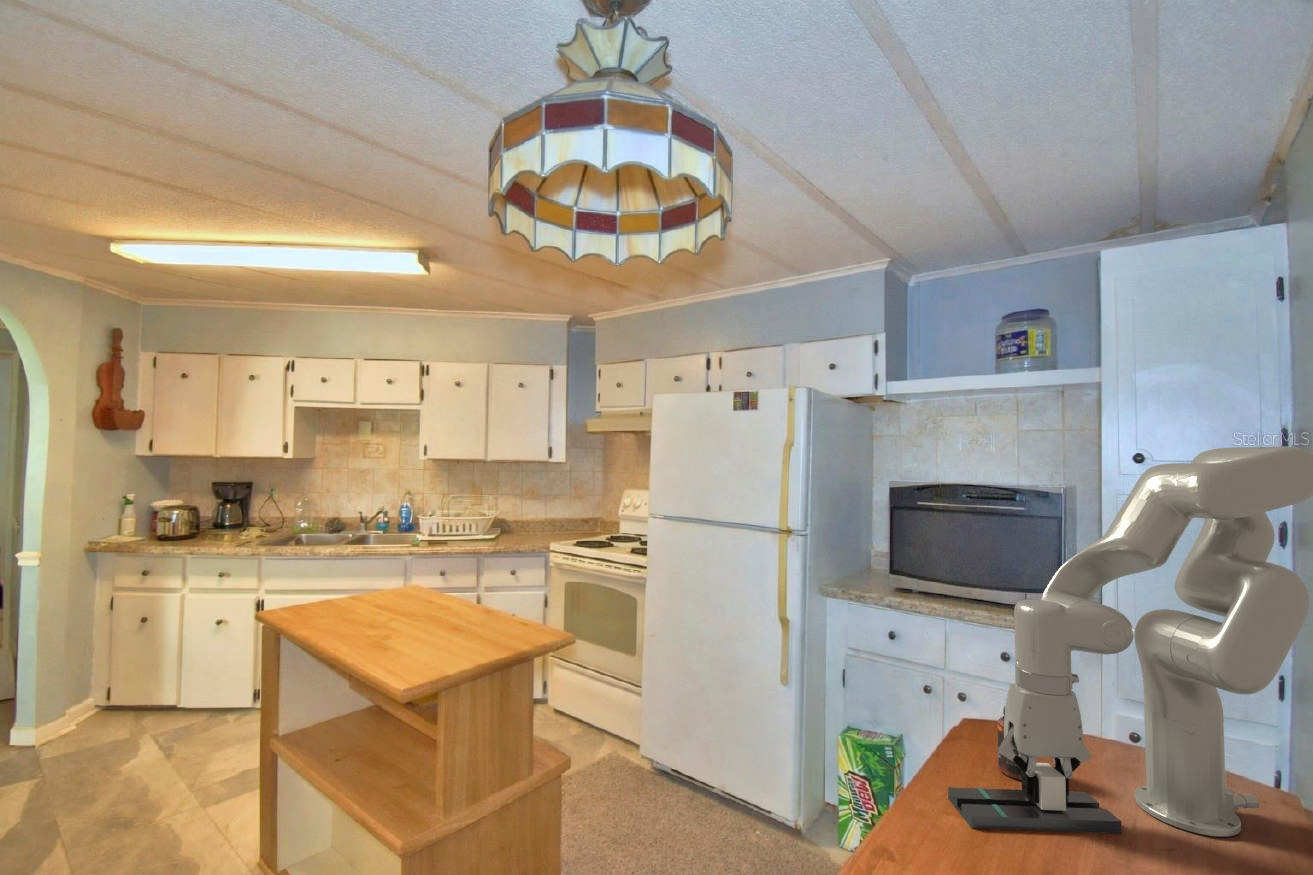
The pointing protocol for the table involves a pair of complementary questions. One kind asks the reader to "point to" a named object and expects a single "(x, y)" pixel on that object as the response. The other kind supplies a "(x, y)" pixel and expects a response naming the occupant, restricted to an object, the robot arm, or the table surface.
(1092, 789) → the table surface
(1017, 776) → the supplement bottle
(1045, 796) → the fader tab
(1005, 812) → the fader housing
